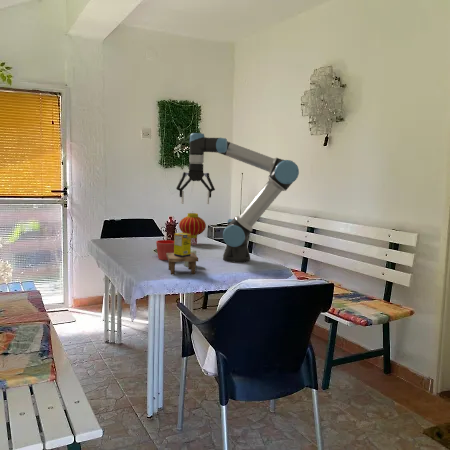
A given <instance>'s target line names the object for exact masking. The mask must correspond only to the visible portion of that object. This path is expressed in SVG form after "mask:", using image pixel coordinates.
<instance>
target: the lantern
mask: <svg viewBox="0 0 450 450" xmlns="http://www.w3.org/2000/svg"><path fill="white" fill-rule="evenodd" d="M178 228H179V230H180V231H181V233H188V234H191V246H196V245H198V235H201V234H203V232H205V230H206V228H207V223H206V222H205V220H204V219H203V218H201V217H199V214H198V213H195V212H189V213H187V216H185V217H183V218H182V219H181V220H180V221H179V224H178Z"/></svg>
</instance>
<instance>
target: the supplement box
mask: <svg viewBox="0 0 450 450" xmlns="http://www.w3.org/2000/svg"><path fill="white" fill-rule="evenodd" d="M173 236H174V237H173V239H174V240H173V241H174V255H175V256H180V257H185V256H190V255H191V250H192V245H191V234H188V233H183V232H177V233H176V232H175V233H174V235H173Z"/></svg>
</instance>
